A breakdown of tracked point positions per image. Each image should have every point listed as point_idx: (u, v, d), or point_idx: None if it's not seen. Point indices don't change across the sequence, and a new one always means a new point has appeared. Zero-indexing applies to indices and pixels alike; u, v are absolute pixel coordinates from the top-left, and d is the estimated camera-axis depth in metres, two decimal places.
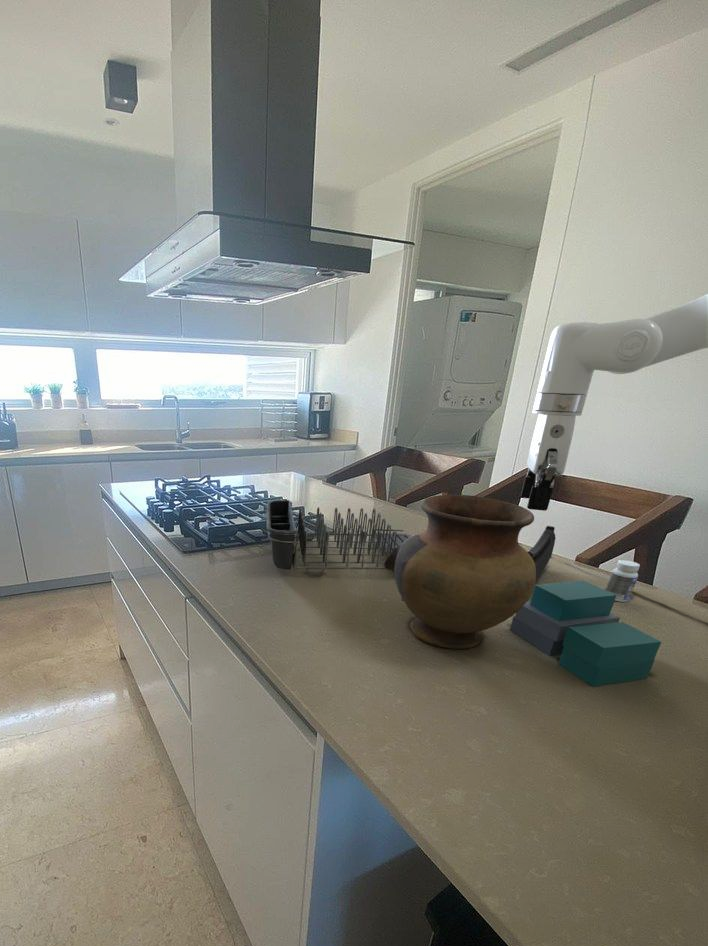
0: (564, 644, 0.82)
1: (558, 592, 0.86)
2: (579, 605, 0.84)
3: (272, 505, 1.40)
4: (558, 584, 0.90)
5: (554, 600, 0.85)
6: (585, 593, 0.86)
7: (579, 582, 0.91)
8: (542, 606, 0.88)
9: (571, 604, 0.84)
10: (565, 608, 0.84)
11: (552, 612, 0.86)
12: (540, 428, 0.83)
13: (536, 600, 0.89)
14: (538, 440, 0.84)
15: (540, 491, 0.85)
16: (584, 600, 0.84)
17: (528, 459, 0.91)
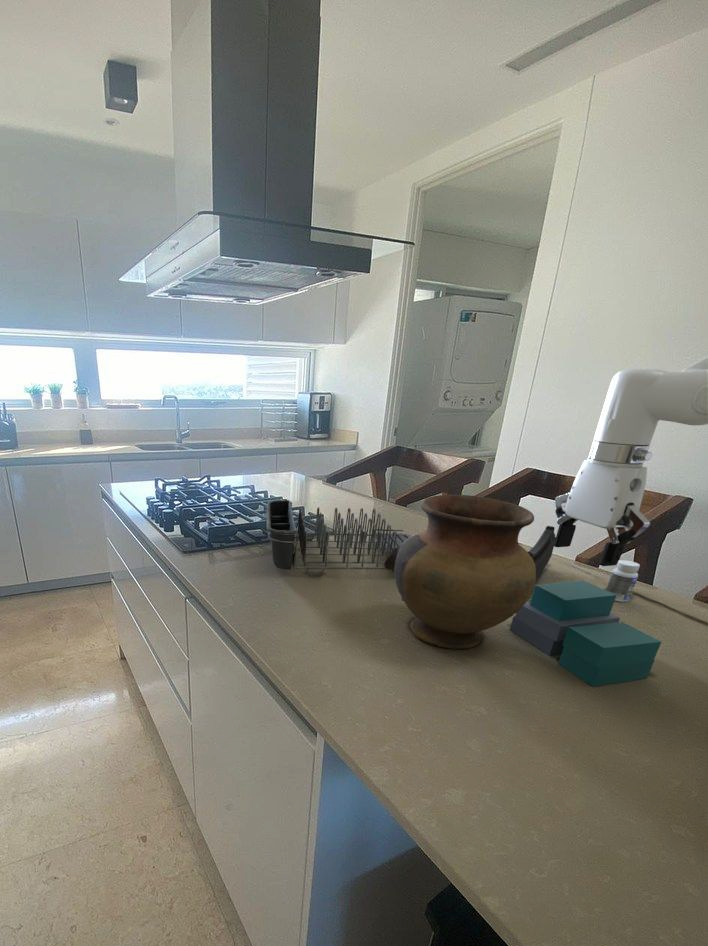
0: (564, 644, 0.82)
1: (558, 592, 0.86)
2: (579, 605, 0.84)
3: (272, 505, 1.40)
4: (558, 584, 0.90)
5: (554, 600, 0.85)
6: (585, 593, 0.86)
7: (579, 582, 0.91)
8: (542, 606, 0.88)
9: (571, 604, 0.84)
10: (565, 608, 0.84)
11: (552, 612, 0.86)
12: (614, 481, 0.76)
13: (536, 600, 0.89)
14: (611, 494, 0.77)
15: (618, 547, 0.78)
16: (584, 600, 0.84)
17: (574, 509, 0.83)
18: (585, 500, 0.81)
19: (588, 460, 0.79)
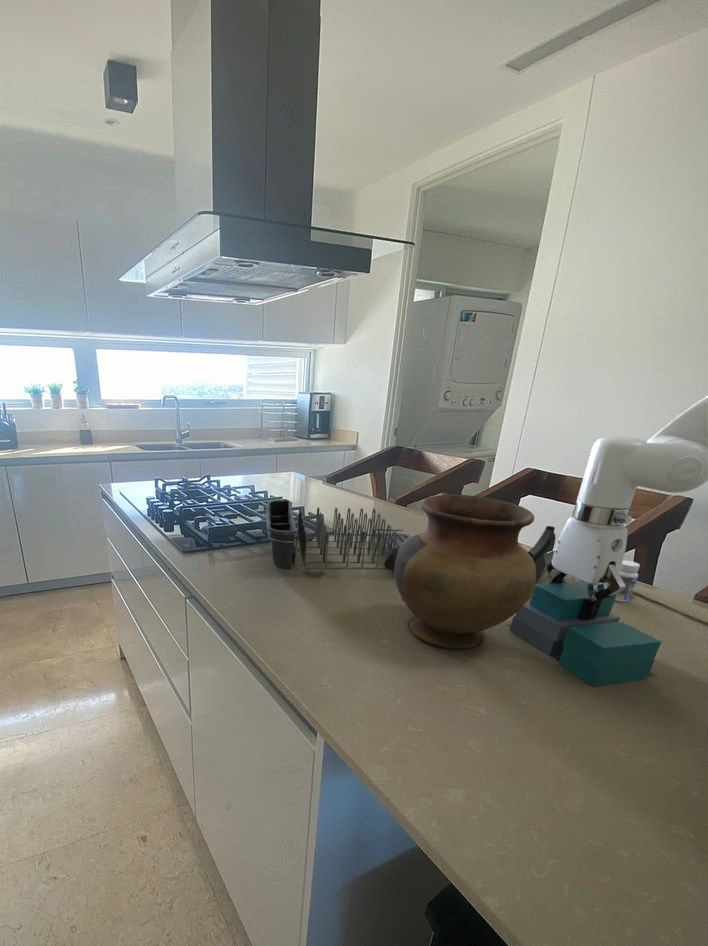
0: (564, 644, 0.82)
1: (558, 592, 0.86)
2: (579, 605, 0.84)
3: (272, 505, 1.40)
4: (558, 584, 0.90)
5: (554, 600, 0.85)
6: (585, 593, 0.86)
7: (579, 582, 0.91)
8: (542, 606, 0.88)
9: (571, 604, 0.84)
10: (565, 608, 0.84)
11: (552, 612, 0.86)
12: (596, 541, 0.80)
13: (536, 600, 0.89)
14: (594, 552, 0.81)
15: (595, 604, 0.83)
16: None
17: (560, 563, 0.87)
18: (570, 556, 0.85)
19: (572, 519, 0.83)
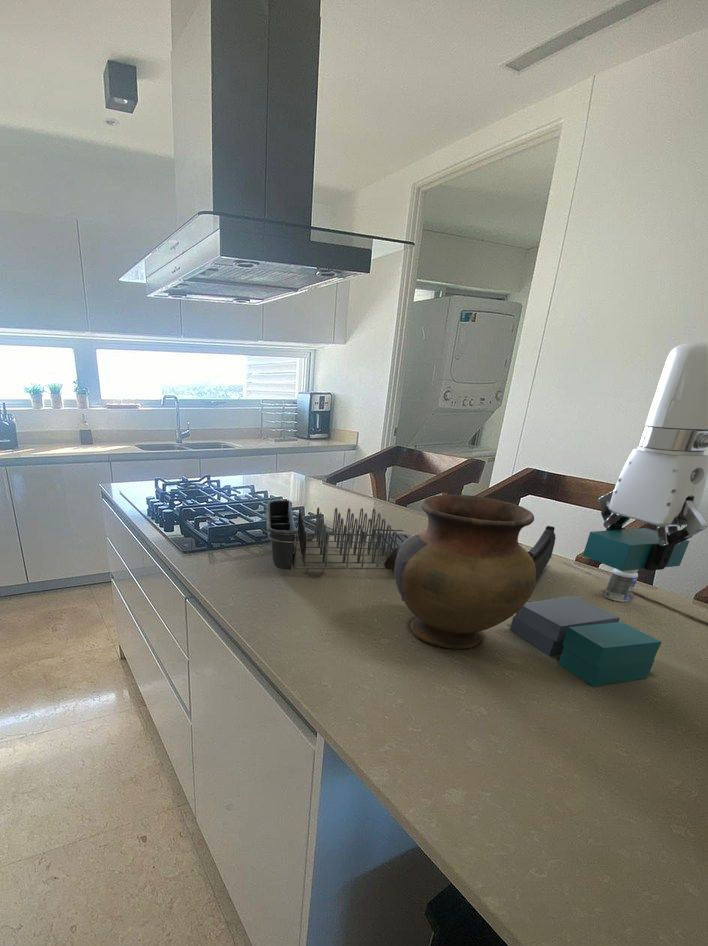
0: (564, 644, 0.82)
1: (619, 538, 0.73)
2: (646, 552, 0.71)
3: (272, 505, 1.39)
4: (617, 531, 0.76)
5: (615, 547, 0.72)
6: (651, 539, 0.73)
7: (641, 529, 0.77)
8: (599, 556, 0.75)
9: (636, 550, 0.70)
10: (630, 555, 0.70)
11: (613, 561, 0.72)
12: (671, 472, 0.67)
13: (591, 549, 0.76)
14: (668, 486, 0.67)
15: (667, 549, 0.70)
16: None
17: (621, 505, 0.74)
18: (635, 494, 0.72)
19: (639, 448, 0.70)
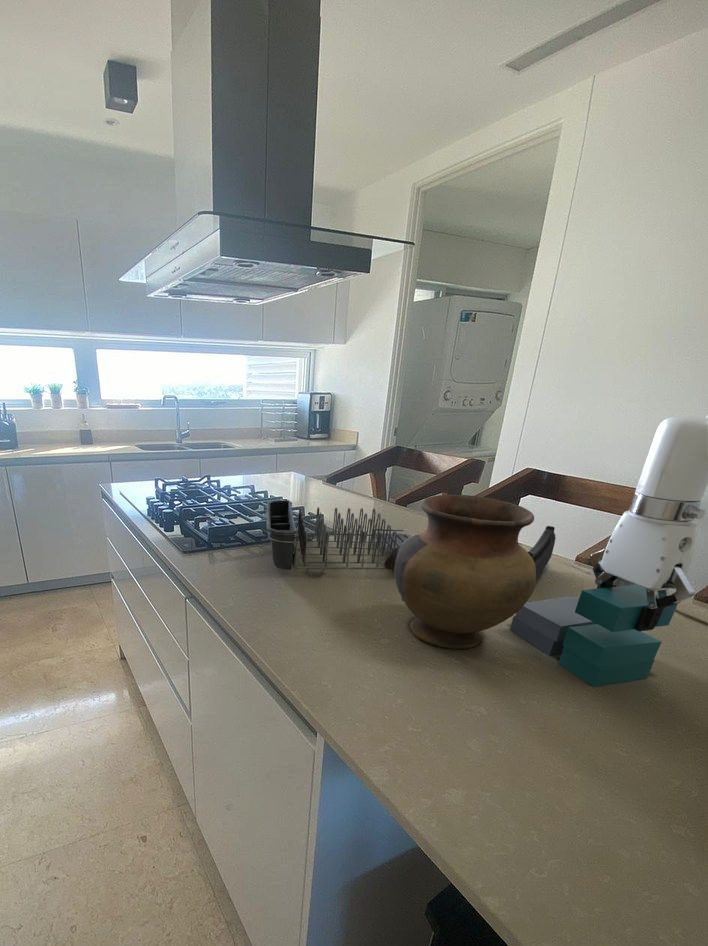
0: (564, 644, 0.82)
1: (610, 598, 0.74)
2: (636, 614, 0.73)
3: (272, 505, 1.39)
4: (608, 589, 0.78)
5: (606, 608, 0.74)
6: (641, 600, 0.74)
7: (632, 587, 0.79)
8: (590, 614, 0.76)
9: (627, 612, 0.72)
10: (620, 618, 0.72)
11: (604, 621, 0.74)
12: (660, 540, 0.68)
13: (583, 607, 0.77)
14: (657, 553, 0.69)
15: (656, 612, 0.72)
16: None
17: (612, 565, 0.76)
18: (625, 557, 0.73)
19: (630, 514, 0.71)
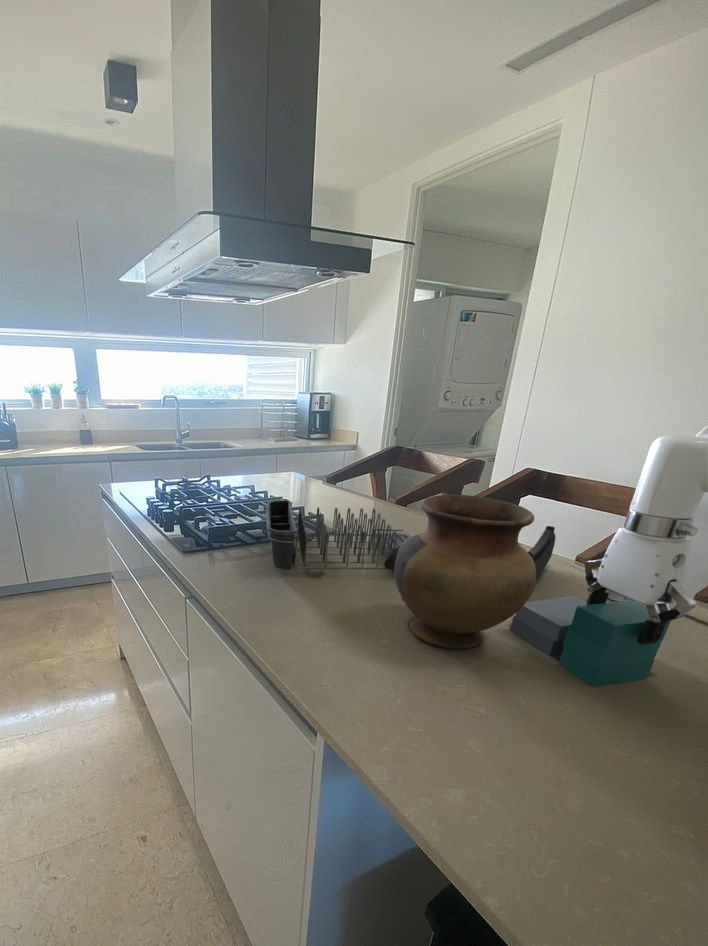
0: (564, 644, 0.82)
1: (604, 615, 0.76)
2: (630, 631, 0.74)
3: (272, 505, 1.39)
4: (603, 605, 0.79)
5: (600, 625, 0.75)
6: (635, 616, 0.76)
7: (626, 603, 0.80)
8: (586, 630, 0.77)
9: (621, 629, 0.73)
10: (614, 634, 0.73)
11: (599, 638, 0.75)
12: (654, 556, 0.69)
13: (578, 623, 0.79)
14: (652, 569, 0.70)
15: (659, 626, 0.71)
16: (636, 625, 0.74)
17: (608, 580, 0.77)
18: (621, 572, 0.74)
19: (624, 530, 0.72)
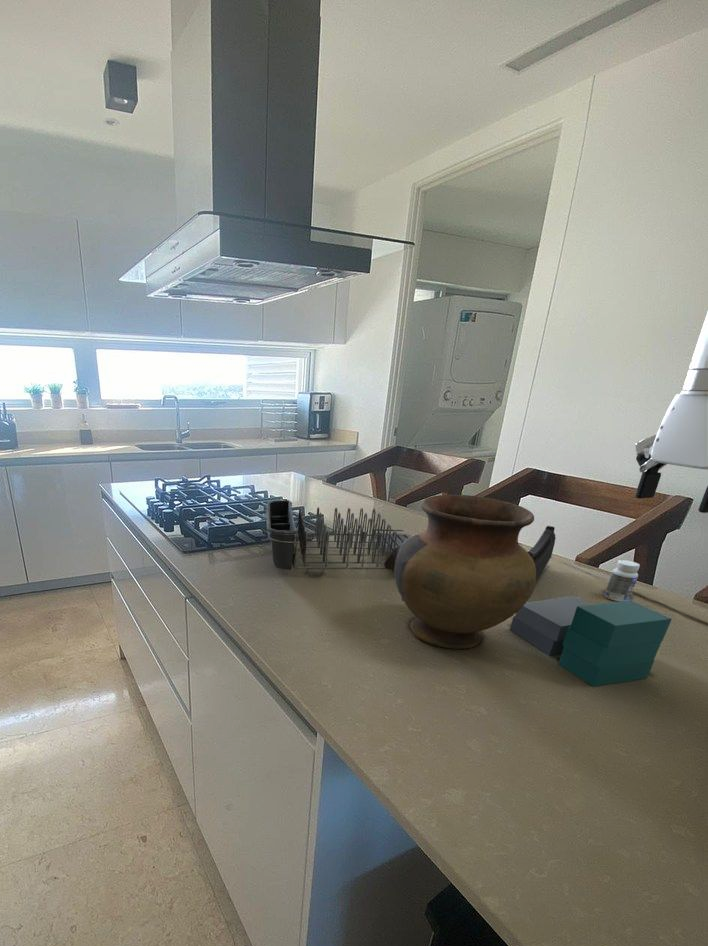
0: (564, 644, 0.82)
1: (604, 615, 0.76)
2: (630, 631, 0.74)
3: (272, 505, 1.39)
4: (603, 605, 0.79)
5: (600, 625, 0.75)
6: (635, 616, 0.76)
7: (626, 603, 0.80)
8: (586, 630, 0.77)
9: (621, 629, 0.73)
10: (614, 634, 0.73)
11: (599, 638, 0.75)
12: None
13: (578, 623, 0.79)
14: None
15: None
16: (636, 625, 0.74)
17: (664, 452, 0.74)
18: (679, 439, 0.72)
19: (683, 392, 0.70)
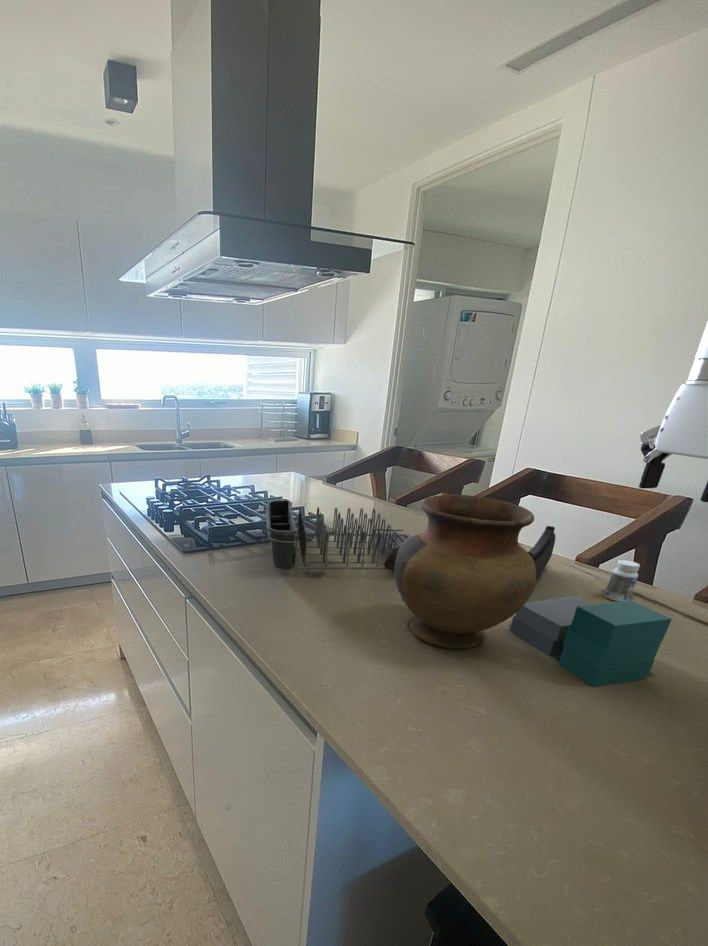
0: (564, 644, 0.82)
1: (604, 615, 0.76)
2: (630, 631, 0.74)
3: (272, 505, 1.39)
4: (603, 605, 0.79)
5: (600, 625, 0.75)
6: (635, 616, 0.76)
7: (626, 603, 0.80)
8: (586, 630, 0.77)
9: (621, 629, 0.73)
10: (614, 634, 0.73)
11: (599, 638, 0.75)
12: None
13: (578, 623, 0.79)
14: None
15: None
16: (636, 625, 0.74)
17: (668, 442, 0.75)
18: (683, 429, 0.72)
19: (689, 382, 0.70)
